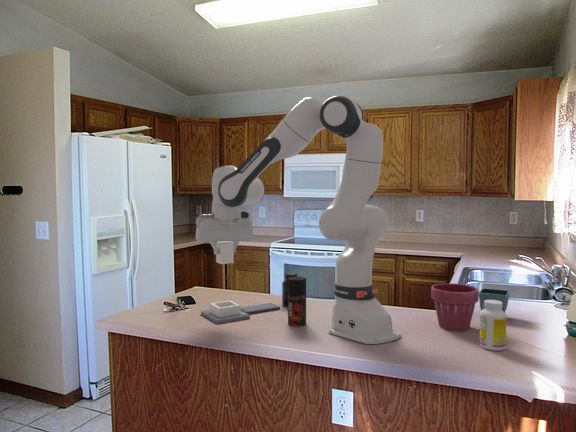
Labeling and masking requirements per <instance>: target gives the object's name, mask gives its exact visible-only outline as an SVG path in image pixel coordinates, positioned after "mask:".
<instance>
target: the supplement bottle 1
mask: <svg viewBox="0 0 576 432" xmlns="http://www.w3.org/2000/svg"><path fill="white" fill-rule="evenodd" d="M298 275H299V274H298V273H296V272H285V274H284V280H283V281H282V283H281V284H282V285H281V304H282V305H283V306H284V307H288V278H289V277H299V276H298Z"/></svg>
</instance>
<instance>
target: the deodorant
mask: <svg viewBox="0 0 576 432" xmlns="http://www.w3.org/2000/svg"><path fill="white" fill-rule="evenodd" d="M287 324H288V326H290V327H304V326H306V325H307V278H306V277H305V276H297V277H289V278H288V306H287Z"/></svg>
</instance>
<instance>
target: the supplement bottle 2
mask: <svg viewBox="0 0 576 432" xmlns="http://www.w3.org/2000/svg"><path fill="white" fill-rule="evenodd" d="M484 306H485V309H483V310H482V311H481V310H480V312H479V346H480V347H481V348H482V349H485V350H488V351H494V352H498V351H499V352H501V351H503V350H506V347H507V314H506V311H505V312H504V311H502V307H503V303H502V302H501V301H497V300H485V301H484Z"/></svg>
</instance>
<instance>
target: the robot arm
mask: <svg viewBox="0 0 576 432" xmlns="http://www.w3.org/2000/svg"><path fill="white" fill-rule="evenodd" d="M323 130H327V132H330V133H332V134H335V135H336V136H338V137H341V138H343V139H345V141H346V152H345V159H344V163H343V164H344V165H343V170H342V176H341V181H340V185H339V187H338V190H337V192H336V195H335V196H334V198H333V200H332V202H331V203H330V204H329V205H328V206H327V207H326V208H325V209H324V210H323V211H322V212H321V214H320V216H319V219H318V226H319V227H318V228H319V230H320V233H321V236H323V237H324V238H325V239H327V240H330V241H336V242H345V243H346V244H345V247H344V249H343V250H342V252H341V253H340V254H338V256H337V258H336V260H335V263H336V265H335V266H336V267H335V268H336V270H335V280H336V281H335V283H334V287H333V290H334V295H335V300H334V303H333V305H332V314H331V325H330V328H329V329H328V333H329V334H331V335H334V336H338V337H341V338H345V339H348V340H350V341H351V340H352V341H356V342H357V343H361V344H365V345H377V344H385V343H390V342H393V341H396V340H398V339H399V338H400V337H401V335H402V334H401V332H399V331H397V330H395V329H394V328H393V321H392V316H391V313H389V312H388V311H387V309H385V308H384V306H383V305H382V303H381V302H380V301H379V300H378V299H377V298H376V297H377V295H376V294H378V293H379V292H378V291H379V289H375V287H374V284H373V281H372V278H373V259H374V254H375V252H376V251H375V250H376V248H377V245H378V243H379V240H380V238H381V236H382V235H383V234H384V233H385V232H386V230H387V228H388V224H389V219H388V215H387V213H386V212H385V209H383V208H381V207H379V206H376V205H373V204H367V202H368V200H369V198H370V197H371V196H372V194H374V193H375V192H376V191H377V189H378V188H379V183H380V176H381V169H382V162H383V156H384V134H383V130H382V129H381V128H380V127H379V126H378V125H376V124H375V123H369V122H366V121H364V111H363V109H362V107H361V106H360V104H359V103H357V102H356V101H355V100H353V99H352V98H350V97H346V96H343V95H334V96H332V97H329V98H328V99H326V100H325V101H324V102H323V103H322V102H321V101H320V100H318V99H317V98H314V97H310V96H308V97H304V98H303V99H302V100H300V101H299V102H298V103H296V104H295V106H293V108H292V109H291V110H289V112H288V113H287V114H286V115H285V116H284V117H283V119H282V120H281V121H280V122H279V124H278V125H277V126H276V127H275V129H274V130H273V131H272V132H271V133H270V134H269V135H268V136H267V137H266V138H265V139H264V140H263V141H262V142H261V143H260V144H259V145H258V146H256V148H255V149H254V150H253V151H252V152H251V153H250V155H249V156H248V157H246V158H245V160H243V162H242V163H241V164H240V165H239V166H238V167H237V166H235V165H223V166H222V165H221V166H219V167H216V168H215V169H214V171H213V172H212V178H211V179H212V180H211V194H212V202H211V213H209V214H208V213H206V214H205V213H201V214H200V215H198V216H197V217H196V219H195V226H196V227H195V228H196V229H195V240H196V241H197V242H199V243H210V245H211V247H212V249H213V254H214V256H216V255H218V254H220V249H217V247H216V245H217V242H226V241H229V242H231V241H232V243H234V254H236V252H237V251H236V249H237V247H238V245H239V243H240V241H241V240H242V241H243V240H244V241H245V240H251V239H252V238H253V237H254V227H253V222H252V219H251V218H252V214H251V212H249V211H246V210H244V209H241V208H239V207H240V206H249V205H254V204H258V203H260V201H262V199H263V198H264V196H265V185H264V183H263V181H262V180H261V179H260V178H259V176H260V175H261V174H262V173H263V172H264V171H265V170H266V169H267V168H268V167H269V166H270V165H272V164H273V163H276V162H278V161H281V160H285V159H289V158H294V157H296V156H297V155H299V153H301V152H302V151H303V150H305V148H307V146H308V145H309V144H310V143H311V142H312V140H313V139H314V138H315V136H316V135H317V134H318V133H319V132H321V131H323Z"/></svg>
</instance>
